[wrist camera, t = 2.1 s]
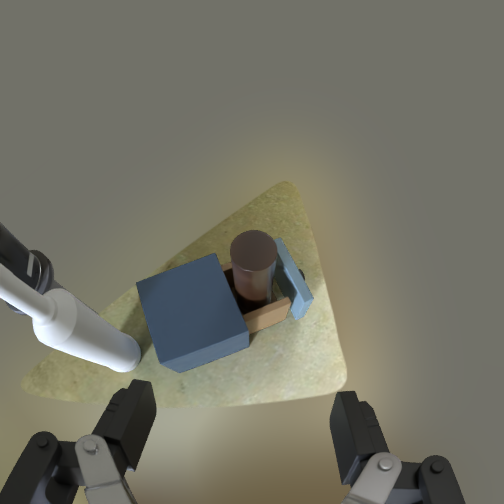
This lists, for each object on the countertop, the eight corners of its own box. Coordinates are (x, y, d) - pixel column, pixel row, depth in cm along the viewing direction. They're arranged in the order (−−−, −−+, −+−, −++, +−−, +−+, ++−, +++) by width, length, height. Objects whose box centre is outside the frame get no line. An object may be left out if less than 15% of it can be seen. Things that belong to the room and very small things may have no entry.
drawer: (284, 259, 41) (289, 233, 35) (312, 312, 37) (323, 293, 31) (218, 285, 39) (211, 262, 33) (242, 343, 35) (240, 330, 30)
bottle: (150, 359, 35) (21, 280, 13) (120, 380, 33) (-28, 326, 11) (129, 328, 37) (8, 223, 15) (101, 348, 35) (-36, 266, 13)
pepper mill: (235, 316, 36) (227, 270, 25) (237, 285, 38) (231, 228, 27) (269, 317, 36) (278, 272, 24) (270, 286, 38) (278, 230, 26)
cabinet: (222, 282, 40) (215, 252, 33) (249, 346, 36) (249, 330, 29) (157, 307, 38) (135, 282, 31) (179, 373, 34) (159, 364, 27)
